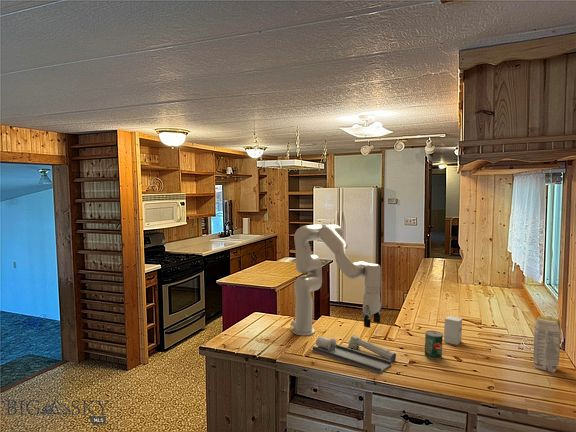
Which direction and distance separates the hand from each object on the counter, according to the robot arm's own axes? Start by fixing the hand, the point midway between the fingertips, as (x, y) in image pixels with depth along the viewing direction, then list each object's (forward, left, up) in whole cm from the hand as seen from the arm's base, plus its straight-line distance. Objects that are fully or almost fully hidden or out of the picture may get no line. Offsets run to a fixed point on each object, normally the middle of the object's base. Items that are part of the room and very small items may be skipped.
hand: (372, 324), depth 187 cm
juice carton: (+66, +39, -14) cm, 78 cm away
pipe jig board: (-5, -12, -14) cm, 19 cm away
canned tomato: (+23, +18, -14) cm, 33 cm away
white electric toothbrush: (0, 0, -15) cm, 15 cm away
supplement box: (+24, +44, -14) cm, 52 cm away
